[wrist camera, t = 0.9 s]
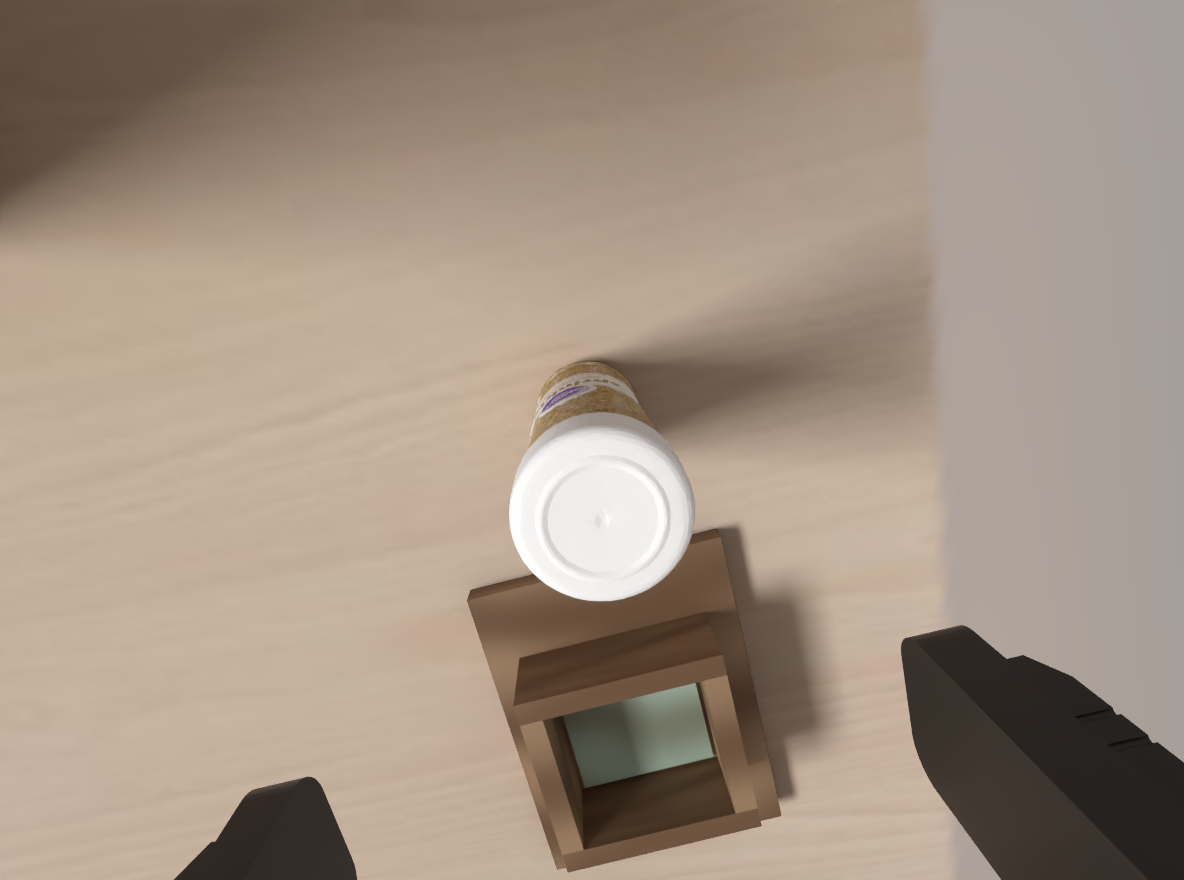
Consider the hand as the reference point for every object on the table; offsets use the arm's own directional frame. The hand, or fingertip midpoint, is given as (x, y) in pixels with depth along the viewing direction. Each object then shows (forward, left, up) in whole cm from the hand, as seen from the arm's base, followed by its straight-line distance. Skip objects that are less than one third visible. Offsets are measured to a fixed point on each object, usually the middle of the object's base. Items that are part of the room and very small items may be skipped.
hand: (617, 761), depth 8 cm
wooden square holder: (+14, -1, -20) cm, 25 cm away
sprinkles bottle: (-1, 0, -20) cm, 20 cm away
